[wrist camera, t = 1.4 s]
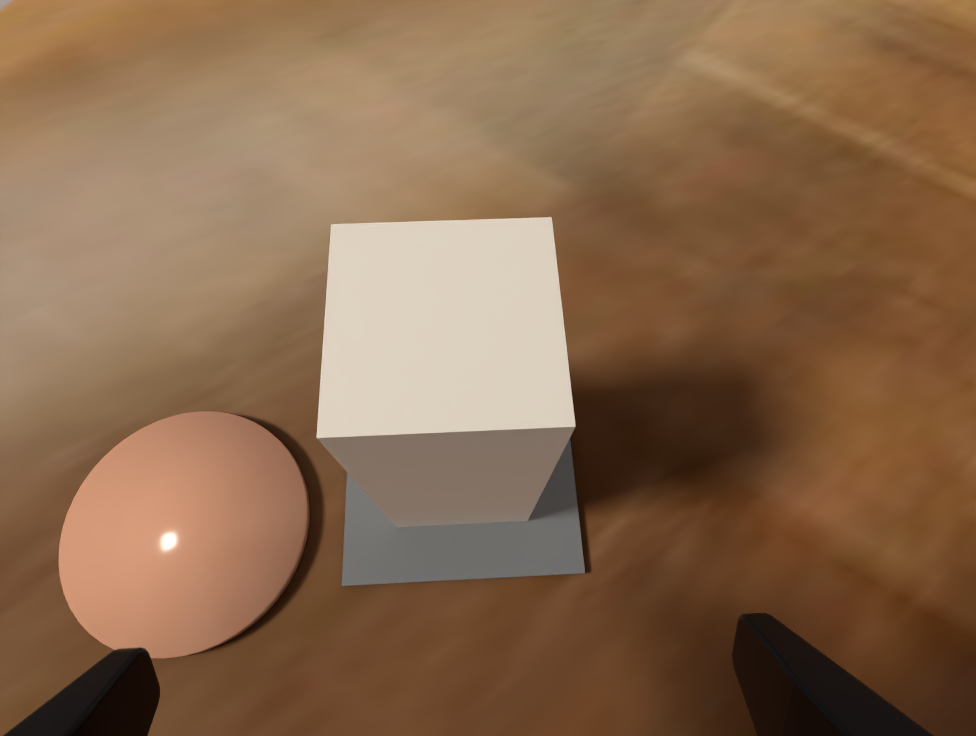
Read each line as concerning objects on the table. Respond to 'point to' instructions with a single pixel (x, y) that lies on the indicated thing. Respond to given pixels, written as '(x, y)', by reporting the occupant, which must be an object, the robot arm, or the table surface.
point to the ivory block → (446, 367)
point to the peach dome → (184, 534)
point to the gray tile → (465, 541)
